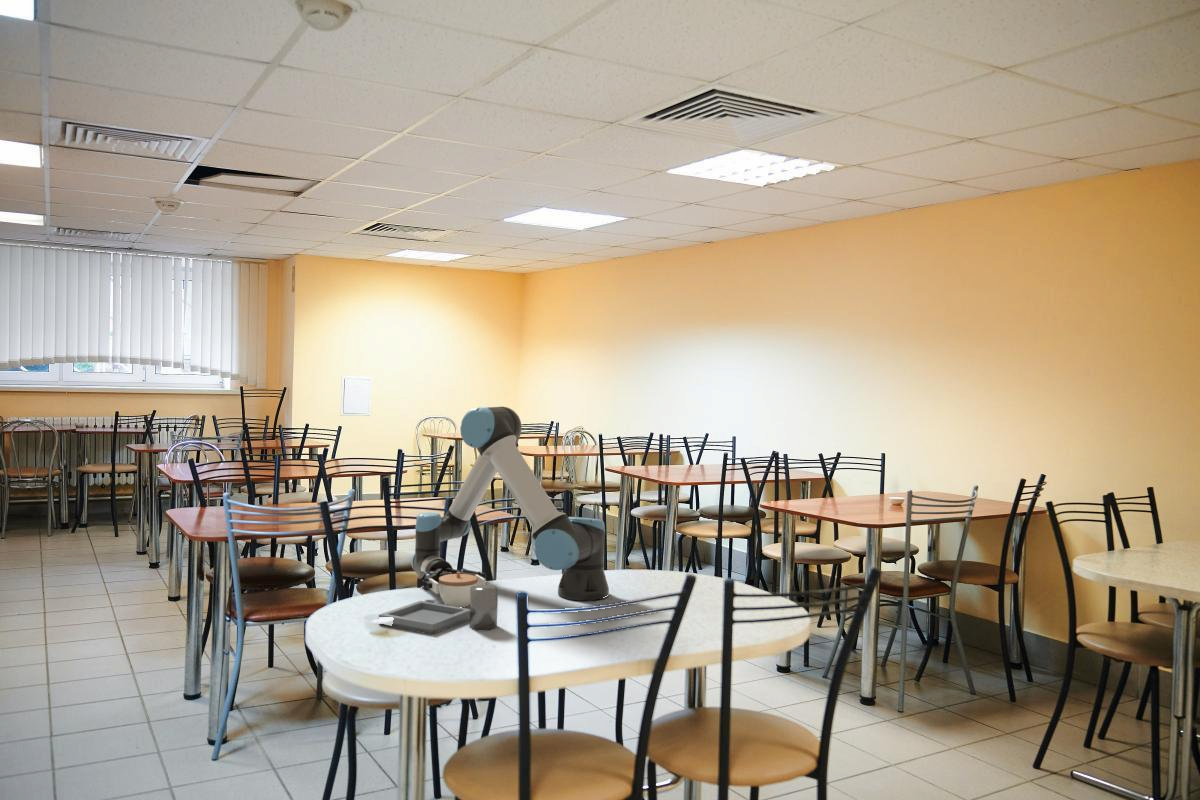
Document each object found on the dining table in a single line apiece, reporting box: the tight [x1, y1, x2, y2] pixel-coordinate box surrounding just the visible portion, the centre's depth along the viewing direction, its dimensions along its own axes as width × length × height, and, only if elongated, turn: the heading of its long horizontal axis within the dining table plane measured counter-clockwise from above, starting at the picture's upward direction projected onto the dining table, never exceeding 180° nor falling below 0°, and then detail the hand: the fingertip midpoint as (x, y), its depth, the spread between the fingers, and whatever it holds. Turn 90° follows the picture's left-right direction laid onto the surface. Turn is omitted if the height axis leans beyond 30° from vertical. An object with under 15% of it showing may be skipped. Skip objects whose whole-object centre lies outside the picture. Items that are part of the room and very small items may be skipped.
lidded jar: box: [439, 572, 478, 608], centre depth 245 cm, size 11×11×9 cm
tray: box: [378, 600, 470, 635], centre depth 228 cm, size 17×17×2 cm
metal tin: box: [468, 584, 499, 631], centre depth 225 cm, size 7×7×10 cm
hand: (461, 586), depth 243 cm, fingers open, 13 cm apart
